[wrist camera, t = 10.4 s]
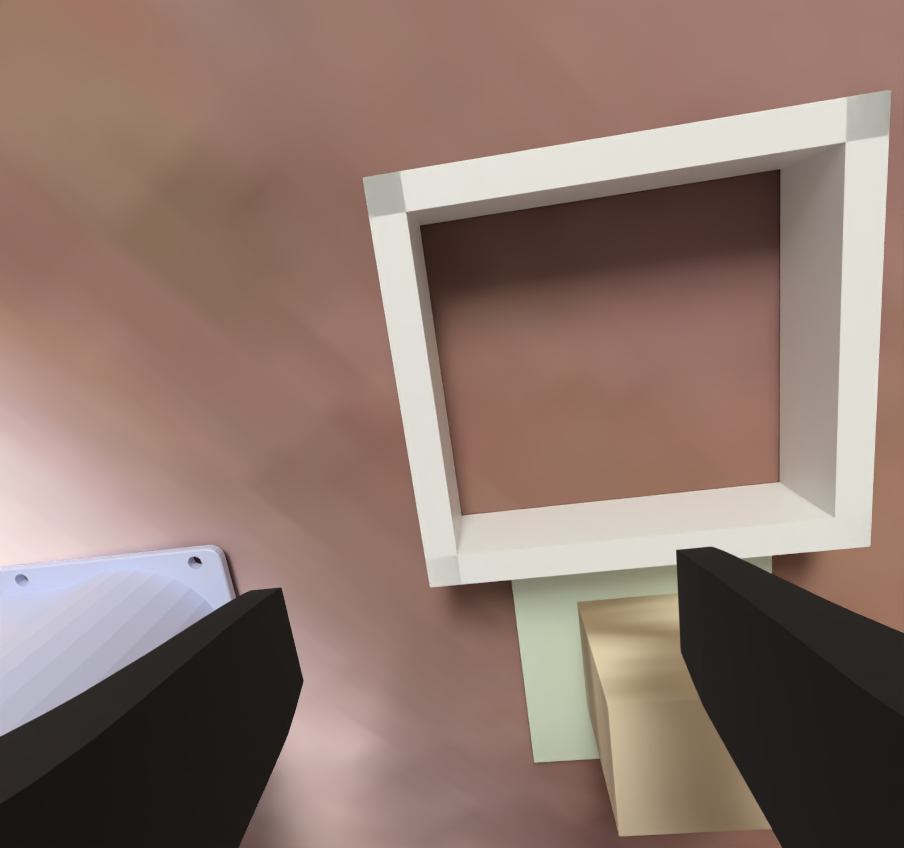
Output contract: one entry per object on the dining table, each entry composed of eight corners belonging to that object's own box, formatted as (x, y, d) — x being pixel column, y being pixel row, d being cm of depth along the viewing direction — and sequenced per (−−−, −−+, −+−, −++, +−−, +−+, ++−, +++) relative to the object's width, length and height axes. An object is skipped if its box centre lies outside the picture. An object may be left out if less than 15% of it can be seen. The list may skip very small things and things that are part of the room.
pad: (533, 751, 22) (534, 762, 21) (507, 549, 20) (508, 555, 19) (765, 737, 21) (771, 748, 20) (764, 524, 19) (772, 530, 18)
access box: (438, 543, 20) (429, 587, 17) (383, 197, 17) (362, 177, 14) (810, 506, 18) (870, 546, 16) (815, 127, 16) (891, 89, 13)
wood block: (587, 706, 20) (618, 836, 16) (577, 602, 19) (607, 705, 14) (709, 698, 20) (781, 828, 15) (705, 590, 19) (781, 693, 14)
